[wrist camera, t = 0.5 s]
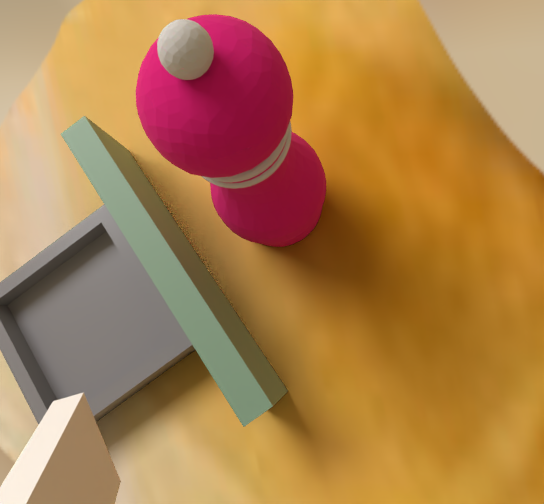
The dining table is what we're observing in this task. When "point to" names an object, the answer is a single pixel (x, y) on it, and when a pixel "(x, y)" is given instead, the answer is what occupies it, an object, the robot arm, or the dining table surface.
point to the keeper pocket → (87, 321)
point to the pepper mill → (232, 125)
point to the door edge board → (177, 273)
